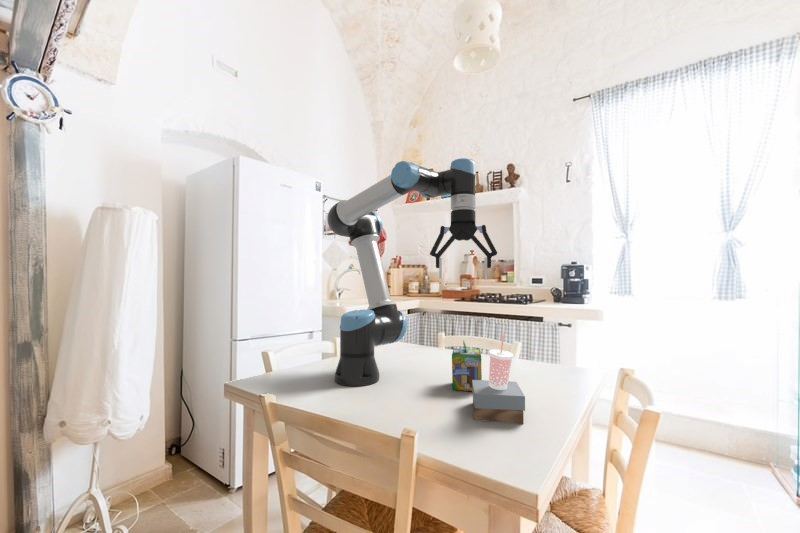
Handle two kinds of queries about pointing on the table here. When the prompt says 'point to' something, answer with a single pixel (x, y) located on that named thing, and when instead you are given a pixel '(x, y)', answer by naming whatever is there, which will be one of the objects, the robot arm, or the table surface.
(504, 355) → the beverage cup
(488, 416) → the walnut base slab
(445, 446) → the table surface
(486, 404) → the slate top slab
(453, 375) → the chalk box
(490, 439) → the table surface
